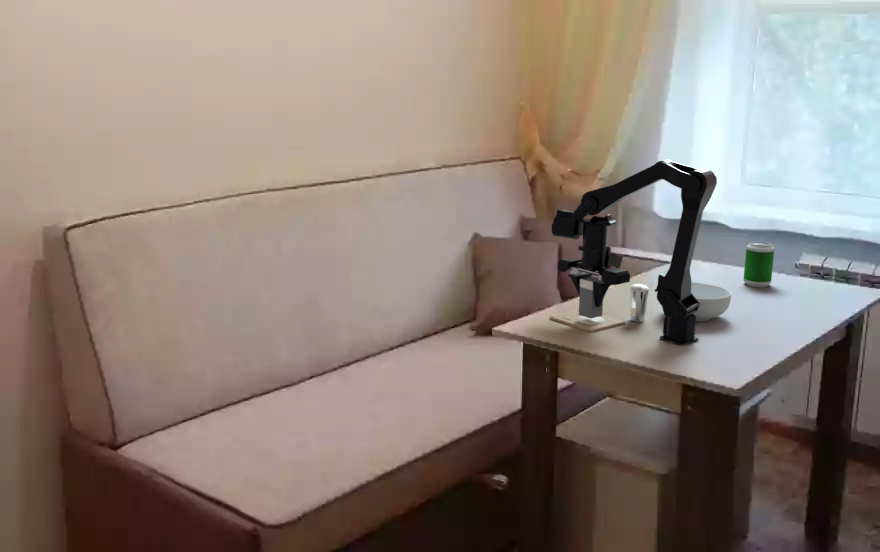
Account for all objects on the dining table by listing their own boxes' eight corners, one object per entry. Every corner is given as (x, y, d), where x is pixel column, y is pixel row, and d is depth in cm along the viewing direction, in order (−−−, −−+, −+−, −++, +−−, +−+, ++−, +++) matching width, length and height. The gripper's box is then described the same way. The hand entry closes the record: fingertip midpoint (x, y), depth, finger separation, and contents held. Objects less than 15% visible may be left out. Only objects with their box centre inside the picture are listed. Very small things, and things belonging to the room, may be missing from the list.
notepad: (625, 323, 234) (625, 321, 233) (591, 332, 226) (591, 329, 226) (583, 311, 244) (583, 308, 244) (549, 318, 237) (549, 316, 237)
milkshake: (650, 323, 234) (652, 283, 232) (627, 322, 235) (630, 282, 233) (650, 318, 238) (652, 279, 236) (628, 317, 239) (630, 278, 237)
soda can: (774, 288, 270) (778, 246, 267) (747, 287, 270) (751, 246, 267) (765, 281, 277) (769, 241, 275) (739, 281, 277) (743, 240, 275)
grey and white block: (602, 315, 233) (604, 279, 231) (590, 318, 230) (592, 282, 228) (589, 312, 236) (591, 276, 234) (578, 314, 233) (580, 278, 231)
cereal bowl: (708, 330, 229) (711, 302, 227) (647, 316, 240) (649, 289, 238) (740, 316, 241) (743, 289, 240) (681, 304, 252) (683, 278, 250)
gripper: (647, 244, 227) (643, 308, 230) (588, 232, 241) (585, 292, 245) (616, 250, 220) (612, 315, 224) (557, 237, 234) (554, 298, 238)
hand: (591, 305), depth 233 cm, fingers closed on grey and white block, 4 cm apart
